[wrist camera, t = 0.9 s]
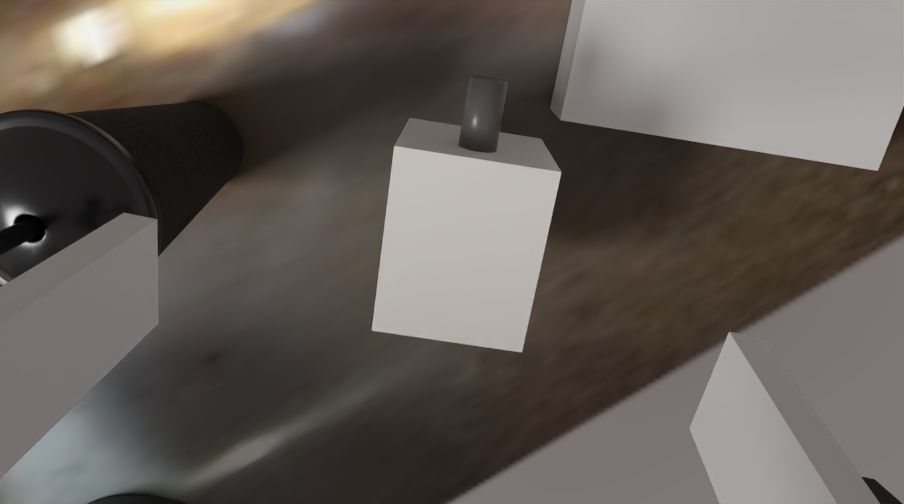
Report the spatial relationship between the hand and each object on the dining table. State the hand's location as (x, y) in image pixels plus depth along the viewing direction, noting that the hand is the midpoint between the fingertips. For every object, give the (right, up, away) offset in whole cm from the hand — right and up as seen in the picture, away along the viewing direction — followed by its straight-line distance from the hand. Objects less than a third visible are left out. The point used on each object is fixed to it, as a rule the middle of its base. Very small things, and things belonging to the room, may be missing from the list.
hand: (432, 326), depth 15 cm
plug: (+1, +7, +21) cm, 22 cm away
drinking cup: (-14, +8, +21) cm, 26 cm away
